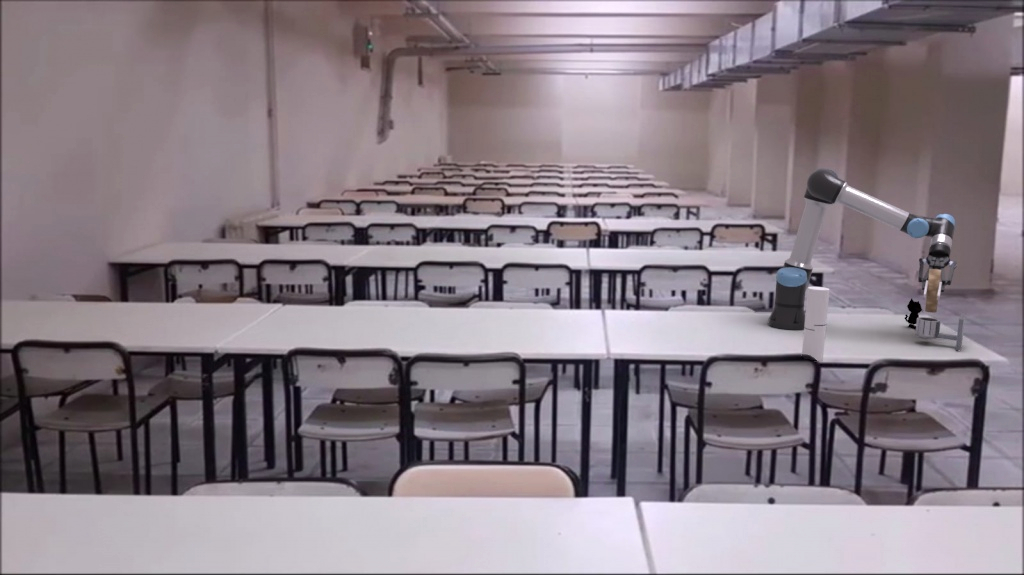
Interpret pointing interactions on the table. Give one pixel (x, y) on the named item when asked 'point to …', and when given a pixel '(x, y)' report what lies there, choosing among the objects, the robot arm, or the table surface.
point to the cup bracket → (932, 330)
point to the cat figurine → (913, 313)
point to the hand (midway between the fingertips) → (931, 296)
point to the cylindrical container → (815, 322)
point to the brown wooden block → (932, 290)
